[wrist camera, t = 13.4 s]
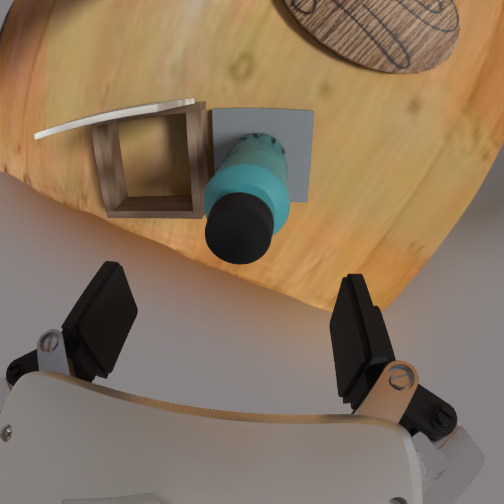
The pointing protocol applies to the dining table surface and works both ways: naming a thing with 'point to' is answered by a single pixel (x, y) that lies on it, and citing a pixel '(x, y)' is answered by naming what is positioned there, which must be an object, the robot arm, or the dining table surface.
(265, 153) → the beverage bottle
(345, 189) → the dining table surface
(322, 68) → the dining table surface
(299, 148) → the slate mat
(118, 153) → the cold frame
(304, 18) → the trivet
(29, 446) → the robot arm
